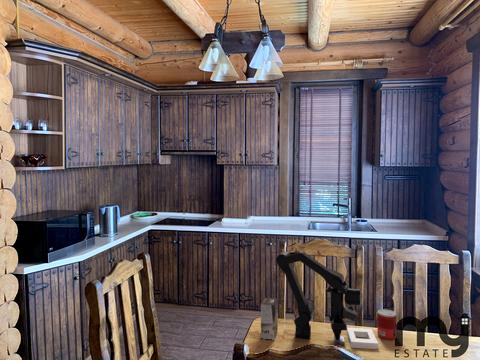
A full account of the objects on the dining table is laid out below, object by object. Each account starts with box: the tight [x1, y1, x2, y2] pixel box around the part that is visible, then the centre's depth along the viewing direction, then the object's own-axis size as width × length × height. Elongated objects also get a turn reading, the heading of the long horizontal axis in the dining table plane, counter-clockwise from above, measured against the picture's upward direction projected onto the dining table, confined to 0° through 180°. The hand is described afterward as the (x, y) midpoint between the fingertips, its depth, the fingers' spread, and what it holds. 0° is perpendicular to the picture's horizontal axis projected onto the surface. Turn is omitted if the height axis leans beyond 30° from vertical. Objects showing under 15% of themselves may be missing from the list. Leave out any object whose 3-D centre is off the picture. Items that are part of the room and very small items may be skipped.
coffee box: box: [260, 297, 279, 341], centre depth 162 cm, size 9×6×16 cm
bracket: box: [333, 334, 346, 346], centre depth 155 cm, size 4×5×7 cm
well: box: [346, 327, 379, 350], centre depth 156 cm, size 11×14×2 cm
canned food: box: [376, 308, 397, 341], centre depth 160 cm, size 8×8×11 cm
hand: (336, 337), depth 155 cm, fingers closed on bracket, 5 cm apart
